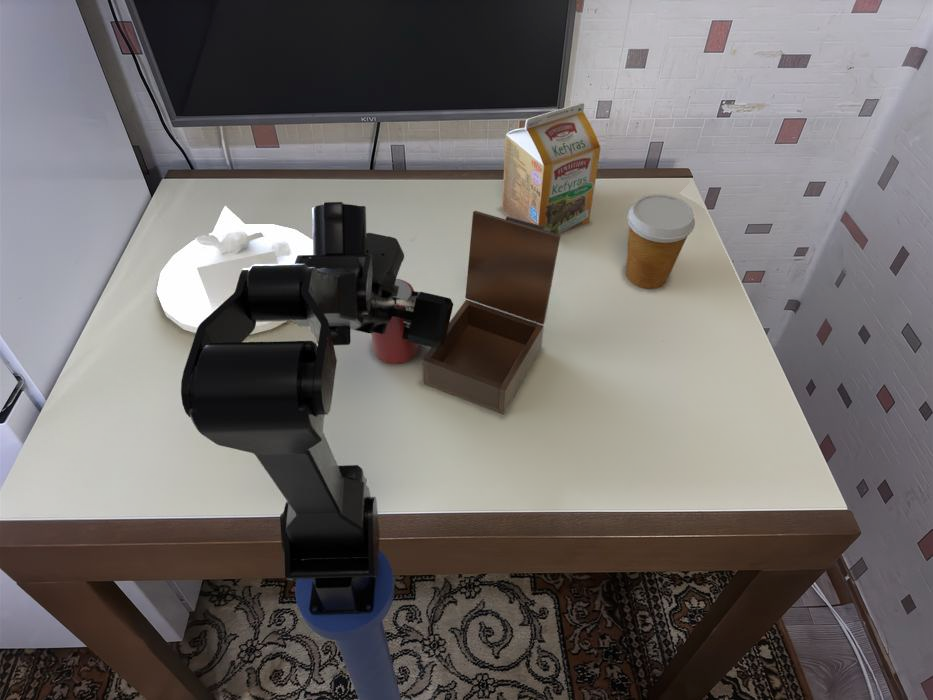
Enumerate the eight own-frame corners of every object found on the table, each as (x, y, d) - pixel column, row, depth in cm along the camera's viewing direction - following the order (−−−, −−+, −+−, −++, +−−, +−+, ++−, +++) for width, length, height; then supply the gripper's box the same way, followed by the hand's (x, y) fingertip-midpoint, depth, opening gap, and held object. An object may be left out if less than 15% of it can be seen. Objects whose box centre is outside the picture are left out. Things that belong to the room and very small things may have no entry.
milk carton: (536, 242, 110) (546, 135, 96) (502, 209, 116) (507, 104, 102) (588, 222, 113) (605, 117, 100) (552, 191, 120) (563, 88, 106)
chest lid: (559, 237, 81) (570, 222, 85) (472, 212, 85) (487, 199, 88) (543, 324, 89) (554, 308, 93) (465, 298, 93) (478, 284, 96)
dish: (342, 312, 99) (330, 251, 90) (163, 355, 93) (134, 294, 85) (309, 218, 114) (297, 159, 106) (155, 249, 109) (130, 189, 100)
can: (418, 363, 92) (413, 308, 84) (372, 364, 92) (363, 309, 84) (418, 331, 96) (414, 276, 88) (375, 332, 96) (367, 277, 88)
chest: (503, 414, 86) (505, 390, 82) (423, 384, 89) (422, 359, 86) (541, 350, 93) (543, 325, 90) (466, 323, 97) (466, 299, 93)
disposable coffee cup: (691, 280, 103) (711, 216, 94) (646, 305, 100) (663, 240, 91) (646, 248, 109) (662, 184, 100) (602, 270, 105) (614, 206, 96)
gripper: (446, 249, 73) (476, 266, 88) (292, 217, 77) (346, 238, 92) (423, 349, 73) (457, 349, 89) (272, 312, 77) (329, 318, 93)
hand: (396, 310), depth 90 cm, fingers closed on can, 6 cm apart
